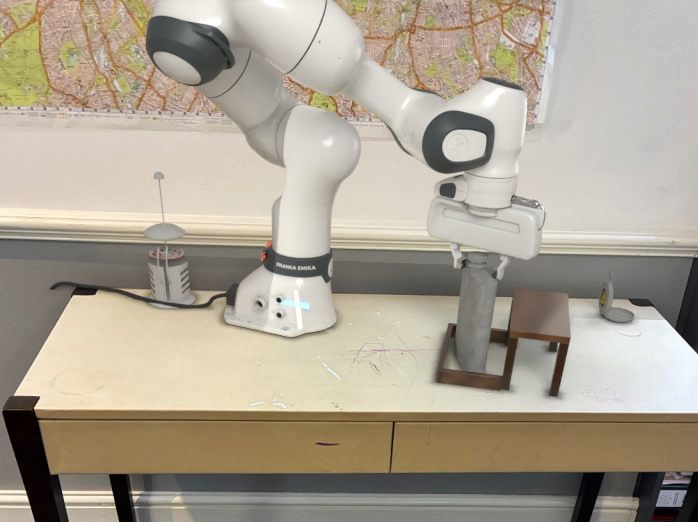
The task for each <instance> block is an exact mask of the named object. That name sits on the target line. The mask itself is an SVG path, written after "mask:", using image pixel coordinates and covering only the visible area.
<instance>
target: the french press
mask: <svg viewBox="0 0 698 522" xmlns="http://www.w3.org/2000/svg"><path fill="white" fill-rule="evenodd" d="M153 179H154V180H157V181H158V186H159V187H158V188H159V197H160V205H161V206H160V207H161V215H162V222H159V223H155V224H152V225H150V226H148V227H147V228H146V229H145V230H144V231H143V235H144V237H145V238H146V239H148V240H150V241H157V242H164V244H165V246H159V245H158V246H157V247H154V248H152V249H150V251H148V256H149V257H148V259H147V266H148V273H149V280H150V281H149V282H150V283H149V284H150V291H151V294H150V295H149V296H148V298H150V299H154V300H158V301H163V302H170V303H179V304H186V305H193V304H194V302H195V301H196V300H197V299H196V295H194V294H193V292H191V287H189V286H190V285H191V284H190V283H191V282H190V281H189V280H190V276H189V275H188V274H190V273H189V271H190V270H189V269H186V268H188V267H189V262H188V258H187V257H186V256H185V255H186V251H185V250H184V249H182V248H179V247H177V246H168V245H167V244H168V243H167V242H171V241H174V240H175V241H176V240H178V239H181V238H183V237H184V236H185V234H186V230H185V229H183V228H182V227H181V226H178V225H176V224H174V223H169V222H165V215H164V205H163V198H162V187H161V180H164V179H165V175H164V173H163V172H161V171H155V172H154V173H153ZM148 304H150V305H151V306H153V307H156V308H161V309H181V308H180V307H172V306H167V305H162V304H156V303H151V302H148Z"/></svg>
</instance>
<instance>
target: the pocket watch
mask: <svg viewBox="0 0 698 522" xmlns="http://www.w3.org/2000/svg"><path fill="white" fill-rule="evenodd" d="M608 275H609V277H608V279H609V280H607V281H604V282H603V283H602V284H601V287H600V289H599V294H598V310H599V314H601V315H602V316H603V317H604V318H605V319H607V320H609V321H612V322H617V323H629V322H632V321H633V320H635V316H636V315H635V313H634V312H633V311H632V310H629V309H627V308H624V307H618V306H612V305H613V300H614V285H613V283H612V282H613V280H614V274H613V271H612V270H611V269H610V270H609V271H608Z"/></svg>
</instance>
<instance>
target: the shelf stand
mask: <svg viewBox="0 0 698 522" xmlns="http://www.w3.org/2000/svg"><path fill="white" fill-rule="evenodd" d="M570 320H571V319H570V305H569V294H568V293H565V292H558V291H550V290H549V291H548V290H539V289H531V288H522V287H513V292H512V298H511V304H510V311H509V317H508V322H507V326H506V327H507V328H506V329H504V328H495V327H491V333H490V340H489V343H490V342H491V343H499V344H504V346H505V347H506V352H505V359H504V365H503V371H502V375H499V374H493V373H486V372H485V373H477V372H469V371H463V370H462V369H461V370H460V369H453V368H446V364H447V358H448V354H449V349H450V347H451V341H452V338H455V335H456V326H457V323H453V322H448V323H447V327H446V332H445V334H444V335H445V336H444V339H443V342H442V343H443V344H442V348H441V351H440V352H441V353H440V356H439V359H438V364H437V368H436V375H435V383H436V384H437V383H438V384H444V385H453V386H454V385H455V386H460V387H469V388H475V389H477V388H478V389H483V390H491V391H499V392H500V391H510V387H511V381H512V376H513V370H514V365H515V358H516V353H517V347H518V342H519V339H523V340H524V339H526V340H533V341H542V342H549V343H548V352H554V353H556V356H555V362H554V365H553V371H552V376H551V382H550V385H549V389H548V396H549V397H555V398H558V397H559V392H560V387H561V383H562V379H563V375H564V369H565V365H566V361H567V356H568V352H569V348H570V344H571V338H572V337H571V336H572V335H571V321H570Z"/></svg>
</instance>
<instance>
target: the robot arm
mask: <svg viewBox="0 0 698 522" xmlns="http://www.w3.org/2000/svg"><path fill="white" fill-rule="evenodd" d="M145 32H146V33H145V52H146V54H147V55H148V58H149V59H150V61H151V62H152V64H153V65H154V67H156V68H157V70H159V71H160V72H161V73H162V74H163V75H165V76H166V77H167V78H170V79H171V80H173V81H175V82H176V83H178V84H181V85H184V86H187V87H188V86H189V87H194V89H196V90H197V91H198V92H199V93H200V94H201V95H203V96H204V98H206V99H207V100H208V101H209V102H210V103H211V104H212V105H213V106H214V107H216V108H217V109H218V110H219V111H220V112H222V114H223V115H225V116H226V117H227V118H228V119H229V120H230V121H231V122H232V123H234V124H235V125H236V127H237V128H238V129H239V130H240V131H241V133H242V134H243V135H244V138H245V140H246V143H247V144H248V146H249V147H250V149H251V150H252V151H253V152H255V154H257V155H258V156H260V158H262V159H263V160H265V161H267V162H268V163H270V164H272V165H274V166H278V167H280V168H283V169H285V170H286V171H287V173H286V174H287V179H286V183H285V187H284V191H283V194H281V195H280V196H279V197H277V198H276V199H275V200H274V202H273V203H272V206H271V239H269V240H268V242H266V244H265V247H264V249H263V250H262V253H261V255H260V262H262V263H263V264H261V265H260V266H259V267H257V268H256V269H255V270H253V271H252V272H250V273H249V274H248V275H246V276H245V277H244V278H243V279H242V280H241V281H240V283H235V282H234V283H233V284H231V286H230V287H229V288H228V289H227V291H225V292H222V293H218V294H214V295H212V296H211V297H210V298H209V300H208V301H207V302H205V303H200V304H190V305H186V304H179V303H170V302H163V301H158V300H154V299H150V298H149V297H146V296H142V295H140V294H139V295H138V294H135V293H133V292H129V291H127V290H124V289H120V288H115V287H111V286H110V287H109V286H104V285H96V284H86V283H85V284H84V283H77V282H73V281H64V280H63V281H58V282H55V283H54V284H52V285H51V286H50V287H49V290H50V291H54V290H56V289H57V288H59V287H61V286H68V287H74V288H80V289H87V290H88V289H90V290H98V291H99V290H102V291H107V292H112V293H116V294H121V295H124V296H128V297H130V298H134V299H136V300H139V301H143V302H147V303H149V302H151V303H156V304H162V305H167V306H172V307H180V308H179V309H204V308H207V307H210V306H211V305H212V304H213V303H214V301H215V300H218V299H221V298H225V302H226V303H225V305H226V307H225V309H224V312H223V320H224V322H225V324H228V325H232V326H236V327H241V328H247V329H251V330H255V331H260V332H265V333H268V334H273V335H278V336H283V337H287V338H296V337H298V336H301V335H304V334H309V333H315V332H320V331H323V330H326V329H329V328H331V327H333V326H334V325H335V324H336V323H337V320H338V317H337V316H338V315H337V313H336V309H335V304H334V299H333V298H334V297H333V291H332V278H333V272H334V271H333V270H334V257H333V248H332V247H331V235H332V233H331V231H332V216H333V208H334V203H335V200H336V197H337V193H338V191H339V189H340V186H341V184H342V183H343V182H344V181H345V180H346V179H348V178H349V177H350V176H351V175H352V174H353V173H354V171H355V170H356V168H357V167H358V164H359V162H360V158H361V153H362V142H361V137H360V133H359V132H358V130H357V129H356V127H355V126H354V125H353V124H352V123H350V122H349V121H347V120H346V118H345V119H344V118H343V117H342V116H340V115H339V114H337V113H336V112H333V111H330V110H326V109H323V108H320V107H316V106H313V105H310V104H307V103H304V102H302V101H301V100H299V99H297V98H295V97H294V96H292V95H291V93H289V91H287V89H286V87H285V86H284V82H283V75H282V73H284V75H285V76H287V77H289V78H290V79H292V80H293V81H294V82H297V83H299V84H300V85H301V86H303V87H305V88H308V89H309V90H312V91H315V92H316V93H319V94H321V95H324V96H327V97H330V96H336V95H340V96H344V97H347V98H348V99H350V100H352V101H354V102H355V103H357V104H358V105H359V106H361V107H362V108H364V109H365V110H366V111H368V112H369V113H370V114H372V115H374V116H375V117H376V118H378V119H379V120H380V121H381V122H383V124H384V125H386V127H387V128H388V130H389V132H390V134H391V135H392V137H393V139H394V141H395V143H396V145H397V146H398V147H399V148H400V149H401V150H402V152H404V153H405V154H407V155H408V156H411V157H413V158H415V159H416V160H418V161H419V162H420V163H421V164H423V165H424V166H426V167H427V168H429V169H430V170H432V171H433V172H436V173H439V174H444V175H451V174H452V176H449V177H446V178H443V179H441V180H439V181H437V182H436V183H435V184H434V187H433V192H434V195H435V196H434V197H433V198H432V199H431V201H430V204H429V208H428V214H427V220H426V232H427V234H428V236H429V237H430V238H434V239H438V240H442V241H446V242H449V250H450V252H451V255H452V257H453V268H454V269H456V270H457V269H458V270H462V271H463V269H464V268H465V262H466V258H465V257H464V256H463V253H462V250H461V247H462V246H466V247H470V248H475V249H478V250H482V251H486V252H490V253H494V254H498V255H500V258H499V260H500V261H502V262H501V263H500V264H499V265H496V266H495V267H494V266H493V268H492V270H491V272H492V273H491V277H492V278H493V279H494V280H498V281H501V280H502V279H503V278H504V274H505V269H506V268H507V266H508V265H509V264H510V263H511V261H513V258H515V259H519V260H523V261H531V260H532V259H534V258H536V257H537V256H538V255H539V253H540V252H541V249H542V241H543V240H542V239H543V227H544V226H545V222H546V217H547V211H546V209H545V207H544V206H543V205H542V204H541V203H540V201H539V200H536V199H530V198H526V197H523V196H518V195H516V194H517V188H518V180H519V175H520V166H519V159H520V154H521V151H522V149H523V147H524V142H525V137H526V136H525V134H526V129H527V128H526V127H527V116H528V98H527V93H526V91H525V90H524V88H523V87H522V86H520V85H519V84H517V83H514V82H512V81H508V80H505V79H501V78H498V77H494V76H483V77H480V78H479V79H478V80H477V82H476V83H475V84H474V85H473V86H471V87H470V88H469V89H467V90H466V91H464V92H463V93H461V94H459V95H457V96H455V97H452V98H451V99H446V98H444V97H443V96H442V95H440V94H439V93H437V92H435V91H434V90H430V89H425V88H417V87H412V86H411V87H410V86H409V85H407V84H405V83H403V82H402V81H401V80H400V79H398V77H396V76H395V75H393V74H392V73H391V72H389V71H388V70H387V69H386V68H385V67H383V66H382V65H381V64H379V63H378V62H376V60H375V59H373V58H372V57H371V56H370V54H369V53H368V52H367V50H366V43H365V36H364V33H363V31H362V29H361V28H360V27H359V26H358V24H357V23H356V22H355V21H354V20H353V19H352V17H350V15H349V14H348V13H347V12H346V11H345V10H344V9H343V8H342V7H341V6H340V5H339V4H338V3H337V2H336V1H334V0H155V1H154V6H153V10H152V14H151V17H150V18H149V19H148V21H147V28H146V31H145ZM457 173H461V174H457ZM462 173H463V174H462ZM453 174H455V175H453Z"/></svg>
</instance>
